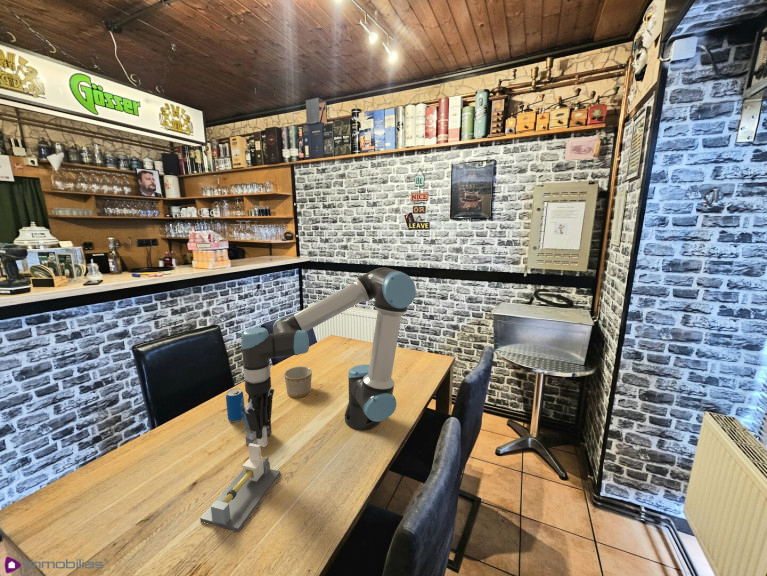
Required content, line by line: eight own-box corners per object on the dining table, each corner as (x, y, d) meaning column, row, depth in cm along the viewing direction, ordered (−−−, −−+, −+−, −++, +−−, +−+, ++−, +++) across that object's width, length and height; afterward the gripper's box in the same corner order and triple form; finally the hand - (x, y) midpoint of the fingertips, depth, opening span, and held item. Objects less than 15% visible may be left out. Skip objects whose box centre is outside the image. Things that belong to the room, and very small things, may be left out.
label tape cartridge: (252, 448, 113) (250, 417, 111) (245, 444, 115) (242, 414, 112) (272, 434, 121) (270, 405, 118) (265, 431, 122) (263, 402, 120)
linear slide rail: (280, 474, 101) (279, 457, 100) (238, 532, 82) (236, 512, 81) (248, 467, 104) (246, 451, 103) (200, 521, 85) (198, 502, 84)
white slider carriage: (263, 472, 99) (261, 445, 97) (256, 481, 95) (254, 453, 93) (251, 469, 100) (248, 442, 98) (243, 478, 96) (241, 450, 94)
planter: (279, 396, 147) (278, 375, 145) (296, 383, 159) (295, 364, 156) (301, 402, 142) (301, 381, 140) (317, 388, 154) (317, 369, 152)
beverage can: (238, 423, 127) (236, 397, 124) (224, 421, 128) (221, 395, 125) (248, 414, 133) (246, 388, 130) (234, 412, 134) (232, 387, 132)
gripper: (260, 367, 104) (264, 430, 108) (232, 386, 91) (238, 456, 96) (280, 369, 102) (283, 433, 107) (254, 390, 89) (260, 461, 94)
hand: (262, 444), depth 101 cm, fingers closed
